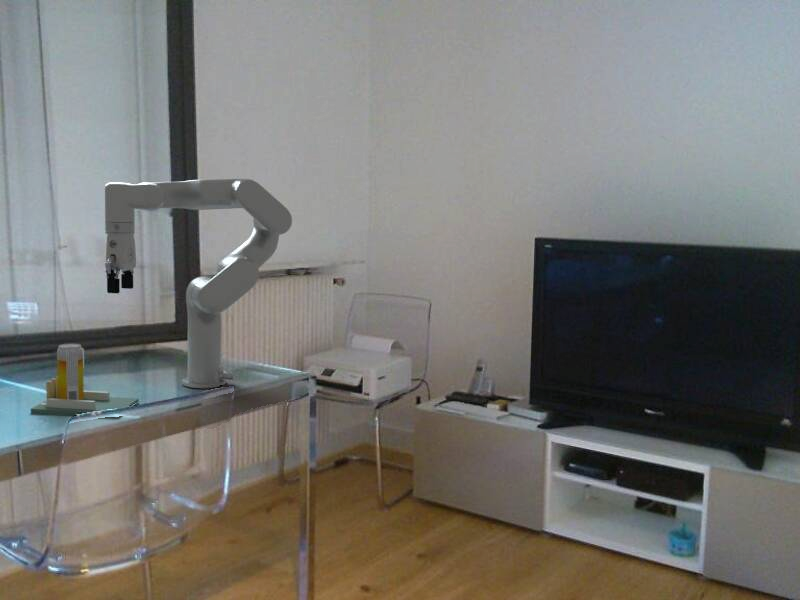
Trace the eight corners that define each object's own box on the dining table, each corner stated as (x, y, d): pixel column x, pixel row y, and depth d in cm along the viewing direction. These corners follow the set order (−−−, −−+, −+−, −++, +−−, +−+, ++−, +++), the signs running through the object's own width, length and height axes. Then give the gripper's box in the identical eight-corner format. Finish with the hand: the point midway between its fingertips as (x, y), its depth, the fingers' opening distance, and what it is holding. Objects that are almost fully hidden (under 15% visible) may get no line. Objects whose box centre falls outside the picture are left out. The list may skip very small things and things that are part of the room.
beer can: (79, 398, 207) (78, 342, 204) (86, 403, 202) (85, 346, 200) (55, 401, 203) (53, 344, 201) (62, 407, 198) (61, 349, 196)
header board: (138, 402, 209) (138, 376, 208) (117, 418, 195) (117, 390, 194) (57, 398, 210) (56, 372, 209) (30, 413, 196) (30, 385, 195)
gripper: (121, 230, 205) (121, 295, 207) (145, 227, 222) (145, 287, 224) (92, 229, 205) (93, 294, 208) (118, 226, 222) (119, 286, 225)
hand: (120, 290), depth 216 cm, fingers open, 9 cm apart
